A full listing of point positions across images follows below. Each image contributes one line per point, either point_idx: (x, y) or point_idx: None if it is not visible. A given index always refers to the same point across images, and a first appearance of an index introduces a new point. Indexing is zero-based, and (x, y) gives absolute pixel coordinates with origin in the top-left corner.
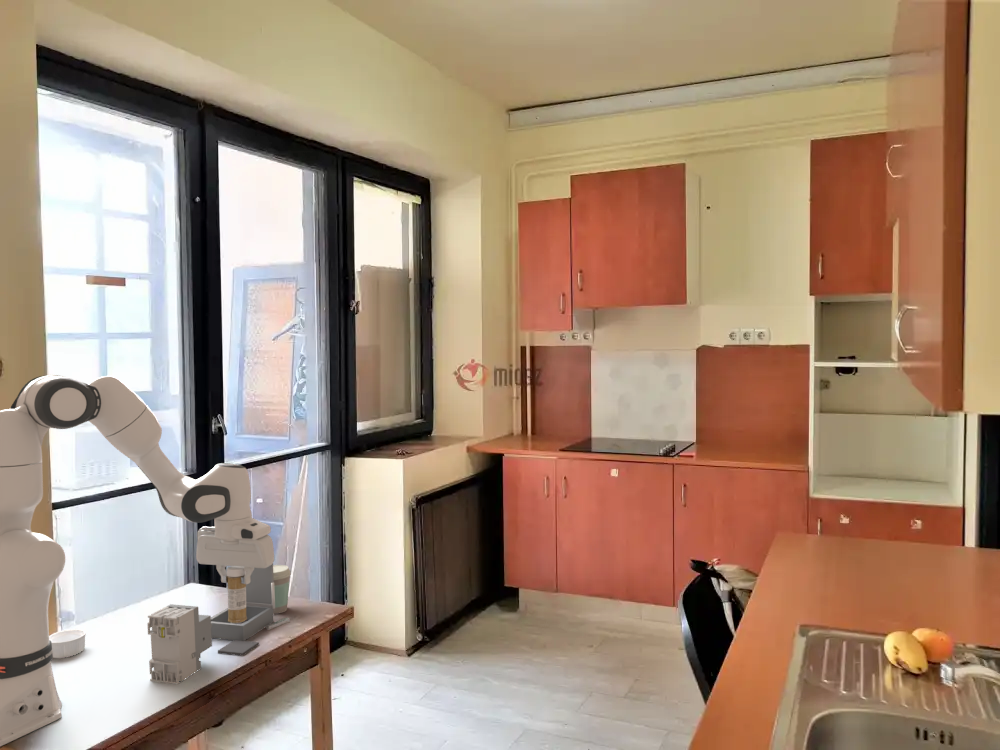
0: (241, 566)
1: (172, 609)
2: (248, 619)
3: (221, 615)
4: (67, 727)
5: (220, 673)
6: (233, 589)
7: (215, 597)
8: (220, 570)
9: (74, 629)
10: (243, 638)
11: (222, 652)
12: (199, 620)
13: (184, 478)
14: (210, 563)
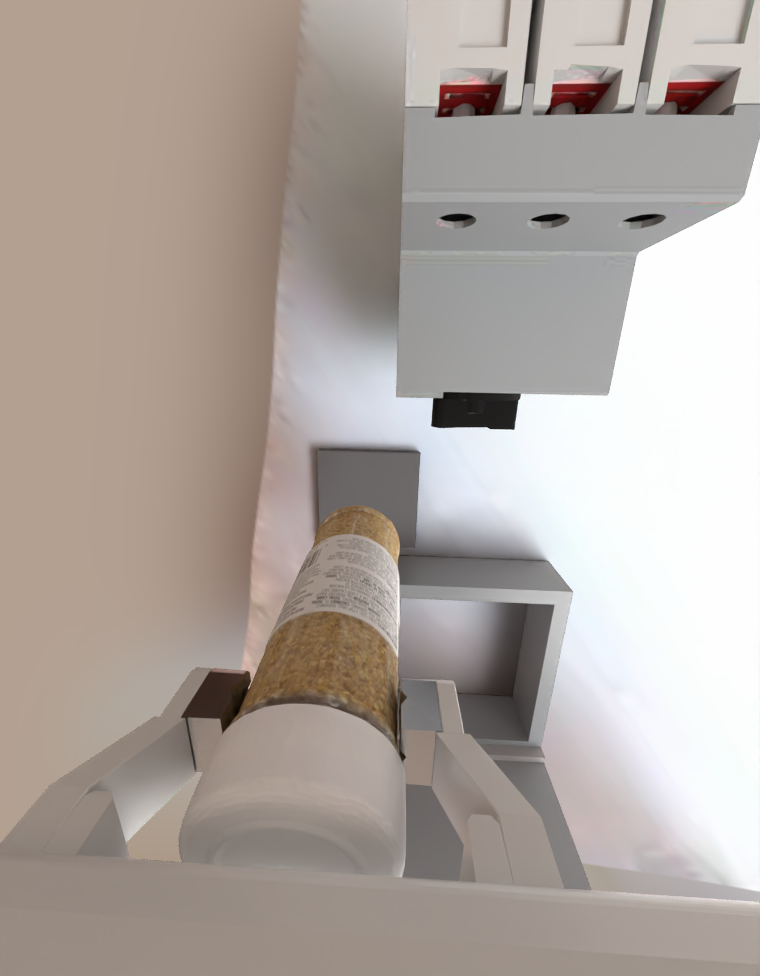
0: (68, 857)
1: (645, 13)
2: (467, 697)
3: (539, 667)
4: None
5: (301, 287)
6: (314, 613)
7: (673, 826)
8: (481, 800)
9: None
10: None
11: (400, 452)
12: (416, 284)
13: None
14: (679, 920)
